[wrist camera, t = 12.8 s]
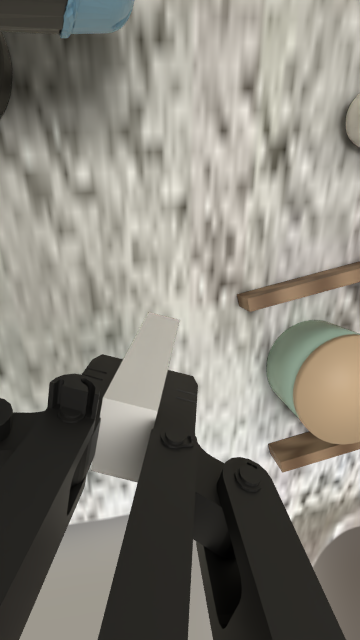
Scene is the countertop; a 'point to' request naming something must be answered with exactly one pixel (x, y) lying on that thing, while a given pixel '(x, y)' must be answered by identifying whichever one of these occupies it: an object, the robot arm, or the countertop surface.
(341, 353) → the green canister
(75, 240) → the countertop surface
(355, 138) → the plastic bottle
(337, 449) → the walnut bay
